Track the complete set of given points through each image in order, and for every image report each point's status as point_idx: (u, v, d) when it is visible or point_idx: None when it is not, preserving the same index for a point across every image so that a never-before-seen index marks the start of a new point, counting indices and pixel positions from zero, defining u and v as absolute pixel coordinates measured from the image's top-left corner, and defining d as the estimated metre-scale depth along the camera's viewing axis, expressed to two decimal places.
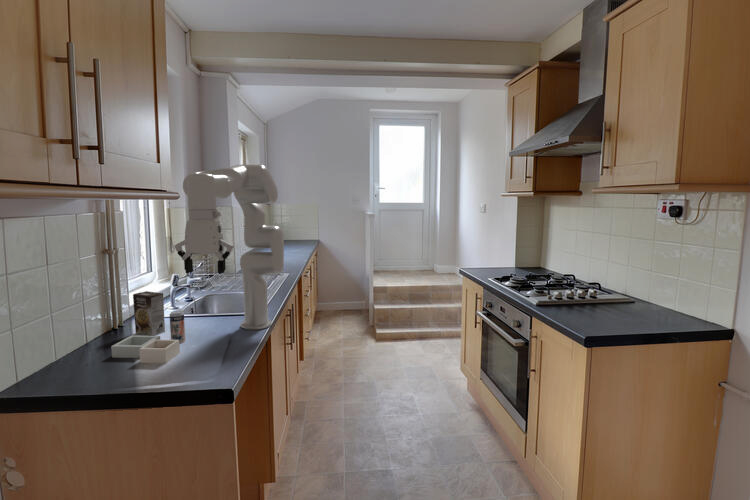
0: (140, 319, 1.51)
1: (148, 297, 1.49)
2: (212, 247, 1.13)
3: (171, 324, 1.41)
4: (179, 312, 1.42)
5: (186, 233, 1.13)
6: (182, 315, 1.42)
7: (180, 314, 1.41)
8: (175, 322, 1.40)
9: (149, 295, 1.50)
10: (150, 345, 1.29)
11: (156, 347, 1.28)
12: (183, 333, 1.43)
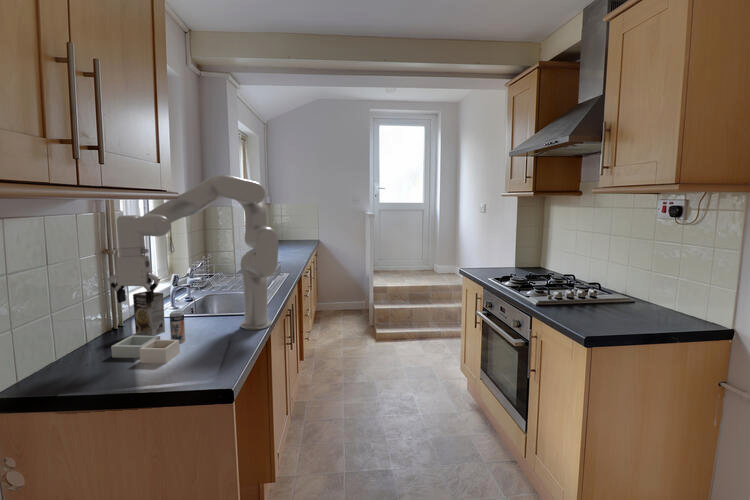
0: (140, 319, 1.51)
1: None
2: (140, 280, 1.29)
3: (171, 324, 1.41)
4: (179, 312, 1.42)
5: (117, 268, 1.29)
6: (182, 315, 1.42)
7: (180, 314, 1.41)
8: (175, 322, 1.40)
9: None
10: (150, 345, 1.29)
11: (156, 347, 1.28)
12: (183, 333, 1.43)
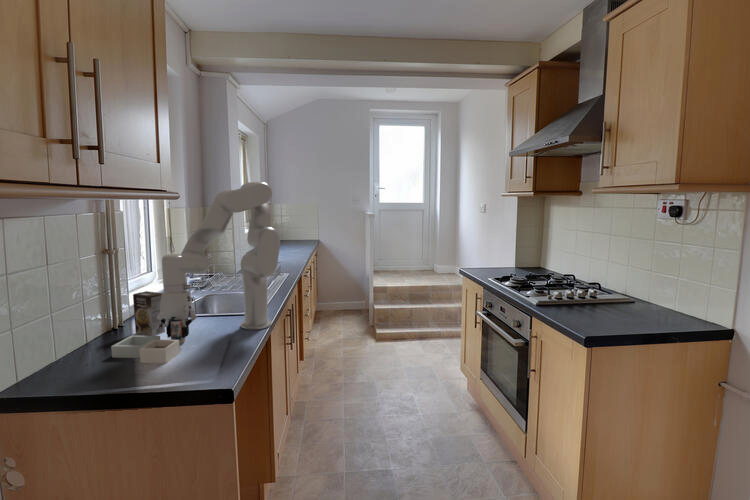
0: (140, 319, 1.51)
1: (148, 297, 1.49)
2: (183, 314, 1.40)
3: (171, 324, 1.41)
4: None
5: (161, 303, 1.40)
6: None
7: None
8: (175, 322, 1.40)
9: (149, 295, 1.50)
10: (150, 345, 1.29)
11: (156, 347, 1.28)
12: None
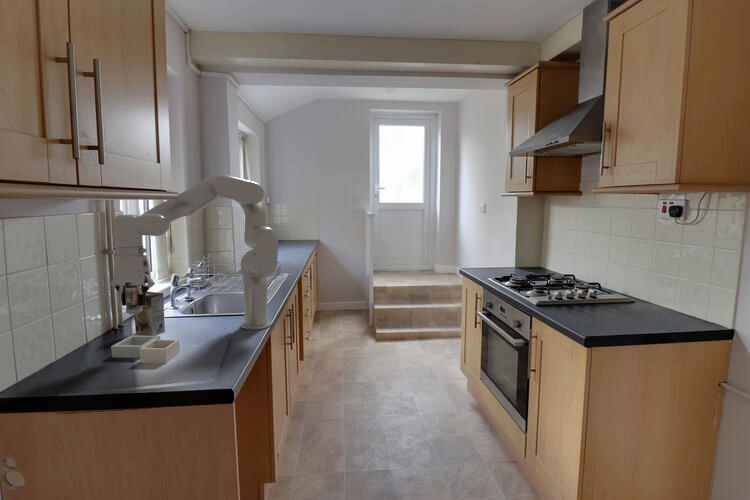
0: (140, 319, 1.51)
1: (148, 297, 1.49)
2: (138, 280, 1.28)
3: (125, 291, 1.29)
4: None
5: (115, 267, 1.28)
6: None
7: None
8: (130, 288, 1.29)
9: (149, 295, 1.50)
10: (150, 345, 1.29)
11: (156, 347, 1.28)
12: None
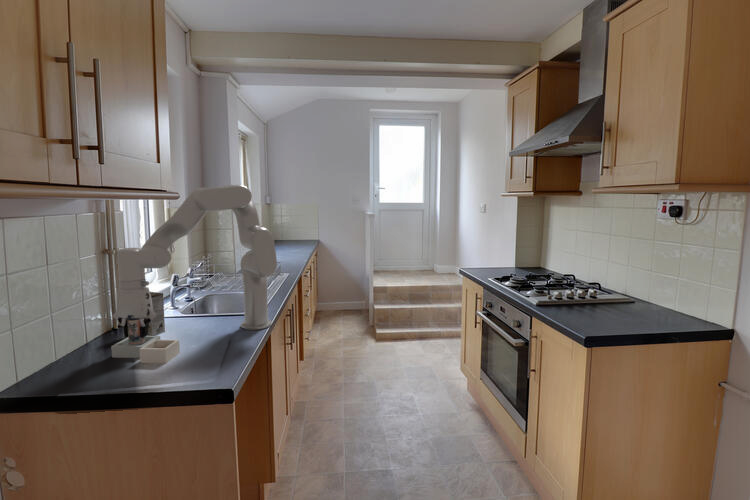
0: None
1: None
2: (140, 312, 1.30)
3: (128, 323, 1.31)
4: None
5: (117, 300, 1.30)
6: None
7: None
8: (132, 321, 1.30)
9: None
10: (150, 345, 1.29)
11: (156, 347, 1.28)
12: None
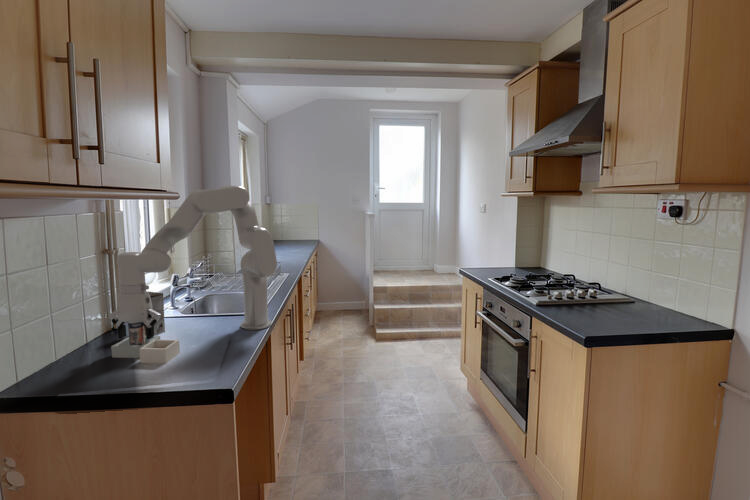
0: None
1: None
2: (140, 316, 1.30)
3: (129, 331, 1.31)
4: None
5: (118, 304, 1.30)
6: None
7: None
8: (133, 329, 1.31)
9: None
10: (150, 345, 1.29)
11: (156, 347, 1.28)
12: (143, 341, 1.33)
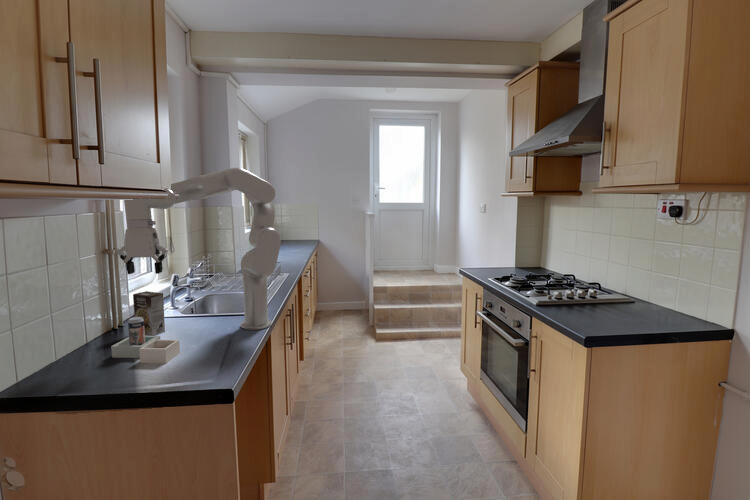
0: None
1: (148, 297, 1.49)
2: (149, 251, 1.33)
3: (129, 331, 1.31)
4: (138, 318, 1.32)
5: (125, 240, 1.32)
6: (141, 321, 1.32)
7: (139, 320, 1.32)
8: (133, 329, 1.31)
9: (149, 295, 1.50)
10: (150, 345, 1.29)
11: (156, 347, 1.28)
12: (143, 341, 1.33)
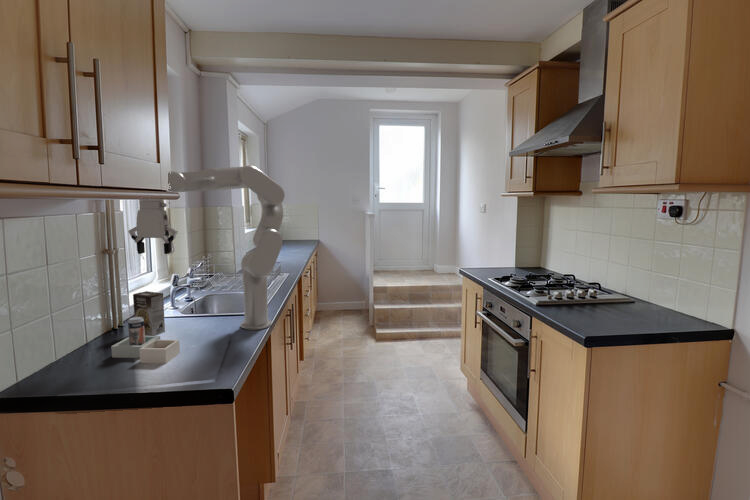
0: None
1: (148, 297, 1.49)
2: (159, 232, 1.38)
3: (129, 331, 1.31)
4: (138, 318, 1.32)
5: (137, 220, 1.38)
6: (141, 321, 1.32)
7: (139, 320, 1.32)
8: (133, 329, 1.31)
9: (149, 295, 1.50)
10: (150, 345, 1.29)
11: (156, 347, 1.28)
12: (143, 341, 1.33)
